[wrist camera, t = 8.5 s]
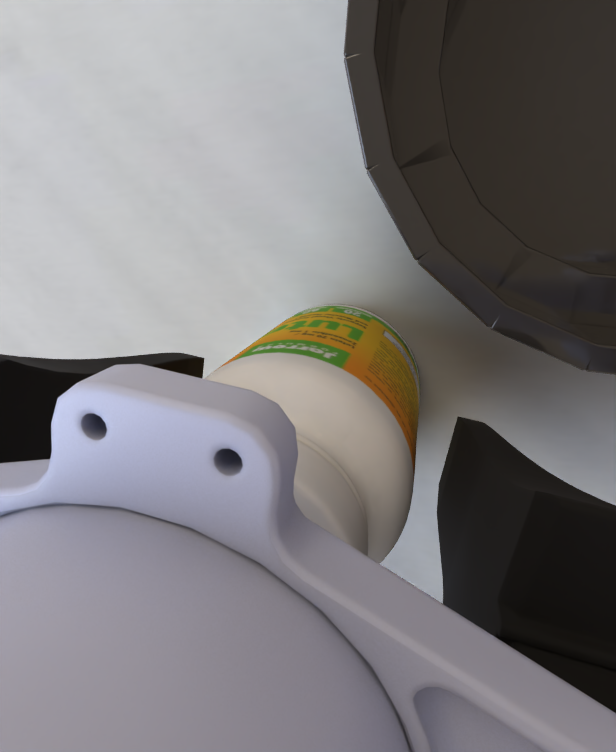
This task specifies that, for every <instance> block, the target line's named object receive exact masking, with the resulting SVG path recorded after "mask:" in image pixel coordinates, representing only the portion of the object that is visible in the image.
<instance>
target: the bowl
mask: <svg viewBox="0 0 616 752" xmlns="http://www.w3.org/2000/svg"><path fill="white" fill-rule="evenodd" d="M344 56H345V58H344V63H345V68H346V73H347V78H348V84H349V89H350V94H351V99H352V104H353V109H354V114H355V119H356V124H357V129H358V134H359V139H360V144H361V149H362V154H363V159H364V164H365V168H366V170H367V174H368V176H369V178H370V179H371V181H372V183H373V185H374V187H375V189H376V190H377V192H378V194H379V196H380V198H381V199H382V201H383V203H384V205H385V207H386V208H387V210H388V212H389V214H390V216H391V218H392V219H393V221H394V223H395V225H396V227H397V228H398V230H399V232H400V234H401V236H402V238H403V239H404V241H405V243H406V245H407V247H408V248H409V250H410V252H411V254H412V256H413V258H414V259H415V260H418V261H417V262H418V264H419V265H420V266H421V267H422V268H423V269H425V270H426V271H427V272H428V273H429V274H430V275H431V276H432V277H433V278H434V279H436V280H437V281H438V282H439V283H440V284H441V285H442V286H443V287H444V288H445V289H446V290H448V291H449V292H450V293H451V294H452V295H453V296H454V297H455V298H456V299H457V300H459V301H460V302H461V303H462V304H463V305H464V306H465V307H466V308H467V309H468V310H469V311H471V312H472V313H473V314H474V315H475V316H476V317H477V318H478V319H479V320H480V321H482V322H483V323H484V324H485V325H486V326H487V327H490V329H491V330H493V331H495V332H498V333H500V334H502V335H504V336H507V337H509V338H511V339H513V340H516V341H518V342H520V343H522V344H525V345H527V346H529V347H531V348H534V349H536V350H538V351H540V352H543V353H545V354H547V355H549V356H552V357H554V358H556V359H558V360H561V361H563V362H565V363H567V364H570V365H572V366H574V367H576V368H579V369H581V370H586V371H589V372H597V373H605V374H613V375H616V0H348V8H347V20H346V32H345V45H344Z"/></svg>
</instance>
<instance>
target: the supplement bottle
mask: <svg viewBox="0 0 616 752" xmlns="http://www.w3.org/2000/svg"><path fill="white" fill-rule="evenodd" d="M205 379H206V380H210V381H215V382H219V383H223V384H227V385H231V386H236V387H240V388H244V389H248V390H252V391H254V392H256V393H258V394H260V395H262V396H264V397H266V398H268V399H270V400H272V401H274V402H276V403H278V404H279V405H280V407H281V408H282V410H283V411H284V412H285V414H286V415H287V417H288V418H289V419H290V421H291V422H292V424H293V425H294V426H295V430H296V438H297V447H298V459H297V465H296V471H295V477H294V491H293V494H294V498H295V502H296V504H297V506H298V507H299V509H300V510H301V512H302V513H303V514H304V516H305V517H306V518H308V519H309V520H311V521H312V522H314V523H316V524H317V525H319V526H320V527H322V528H323V529H325V530H327V531H328V532H330V533H331V534H333V535H334V536H336V537H338V538H339V539H341V540H342V541H344V542H346V543H347V544H349V545H350V546H352V547H353V548H355V549H357V550H358V551H360V552H361V553H363V554H365V555H366V556H368V557H369V558H371V559H372V560H374V561H376V562H377V563H379V564H380V563H381V562H382V561H383V560H384V558H385V557H386V556H387V555H388V554H389V552H390V551H391V550H392V548H393V547H394V545H395V544H396V542H397V541H398V539H399V537H400V535H401V533H402V531H403V528H404V526H405V523H406V521H407V517H408V513H409V510H410V505H411V499H412V493H413V483H414V473H415V457H416V440H417V427H418V414H419V402H420V382H419V374H418V369H417V365H416V361H415V359H414V356H413V354H412V352H411V350H410V348H409V347H408V345H407V343H406V342H405V340H404V339H403V338H402V336H401V335H400V334H399V333H398V332H397V331H396V330H395V329H394V328H393V327H392V326H391V325H390V324H389V323H387V322H386V321H385V320H383V319H382V318H380V317H379V316H377V315H375V314H373V313H371V312H369V311H366V310H364V309H361V308H358V307H354V306H348V305H339V304H333V305H322V306H317V307H312V308H309V309H306V310H304V311H301V312H299V313H297V314H295V315H294V316H292V317H290V318H288V319H287V320H285V321H284V322H282V323H281V324H280V325H278V326H277V327H275V328H274V329H272V330H271V331H270V332H268V333H267V334H266V335H264V336H263V337H261V338H260V339H258V340H257V341H256V342H254V343H253V344H251V345H250V346H249V347H247V348H246V349H244V350H243V351H242V352H240V353H239V354H237V355H236V356H235V357H233V358H232V359H231V360H229V361H228V362H226V363H225V364H224V365H222V366H221V367H219V368H218V369H217V370H215V371H214V372H213V373H211V374H210V375H209V376H207V377H206V378H205Z"/></svg>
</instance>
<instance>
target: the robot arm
mask: <svg viewBox="0 0 616 752" xmlns="http://www.w3.org/2000/svg"><path fill="white" fill-rule="evenodd" d="M203 366H204V358H201V357H197V356H193V355H188V354H183V353H158V354H148V355H138V356H128V357H115V358H102V359H45V358H31V357H18V356H9V355H2V354H0V752H616V506H615V505H612V504H610V503H607V502H605V501H603V500H601V499H598V498H596V497H594V496H592V495H590V494H588V493H585V492H583V491H581V490H579V489H577V488H575V487H573V486H571V485H569V484H568V483H566V482H564V481H563V480H561V479H559V478H557V477H556V476H554V475H552V474H551V473H549V472H547V471H546V470H544V469H543V468H541V467H540V466H538V465H537V464H536V463H534V462H533V461H531V460H530V459H529V458H527V457H526V456H525V455H523V454H522V453H521V452H520V451H518V450H517V449H516V448H515V447H513V446H512V445H511V444H510V443H508V442H507V441H506V440H505V439H504V438H503V437H501V436H500V435H499V434H498V433H497V432H495V431H494V430H493V429H492V428H490V427H489V426H488V425H486V424H485V423H483V422H479V421H475V420H470V419H466V418H462V417H458V418H457V422H456V425H455V429H454V433H453V436H452V440H451V443H450V447H449V450H448V454H447V457H446V461H445V465H444V468H443V472H442V475H441V479H440V482H439V491H438V505H437V519H438V531H439V542H440V553H441V564H442V574H443V604H442V603H440V602H439V601H437V600H436V599H434V598H433V597H431V596H429V595H428V594H426V593H425V592H423V591H421V590H420V589H418V588H417V587H415V586H414V585H412V584H410V583H409V582H407V581H406V580H404V579H402V578H401V577H399V576H398V575H396V574H395V573H393V572H391V571H390V570H388V569H387V568H385V567H383V566H382V565H380V564H379V563H377V562H376V561H374V560H372V559H371V558H369V557H368V556H366V555H365V554H363V553H361V552H360V551H358V550H357V549H355V548H353V547H352V546H350V545H349V544H347V543H346V542H344V541H342V540H341V539H339V538H338V537H336V536H334V535H333V534H331V533H330V532H328V531H327V530H325V529H323V528H322V527H320V526H319V525H317V524H316V523H314V522H312V521H311V520H309V519H308V518H306V517H305V516H304V514H303V513H302V512H301V510H300V509H299V507H298V506H297V504H296V502H295V498H294V494H293V491H294V477H295V471H296V465H297V459H298V447H297V438H296V430H295V426H294V425H293V424H292V422H291V421H290V419H289V418H288V417H287V415H286V414H285V412H284V411H283V410H282V408H281V407H280V405H279V404H278V403H276V402H274V401H272V400H270V399H268V398H266V397H264V396H262V395H260V394H258V393H256V392H254V391H252V390H248V389H244V388H240V387H236V386H231V385H227V384H223V383H219V382H215V381H210V380H206V379H202V377H203Z"/></svg>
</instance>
